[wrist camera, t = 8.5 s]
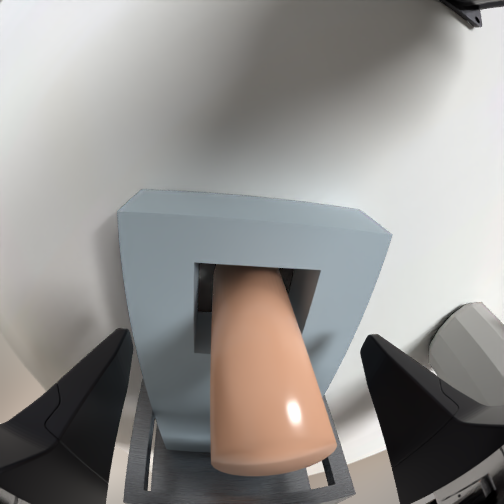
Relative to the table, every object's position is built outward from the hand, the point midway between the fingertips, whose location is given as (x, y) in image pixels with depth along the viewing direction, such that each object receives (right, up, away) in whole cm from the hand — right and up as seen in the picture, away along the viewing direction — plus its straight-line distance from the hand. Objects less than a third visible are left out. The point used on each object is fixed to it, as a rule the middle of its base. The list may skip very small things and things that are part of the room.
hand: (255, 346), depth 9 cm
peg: (0, +2, +4) cm, 5 cm away
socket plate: (-1, -3, +6) cm, 7 cm away
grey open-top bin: (-2, -9, +9) cm, 13 cm away
